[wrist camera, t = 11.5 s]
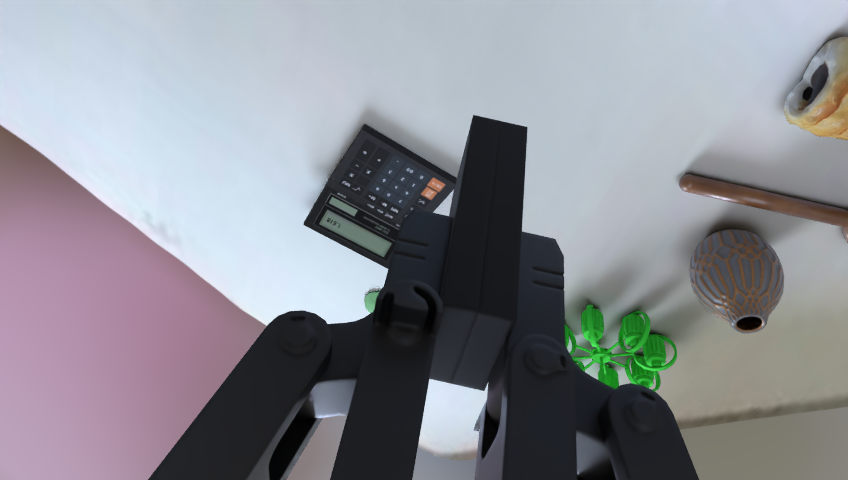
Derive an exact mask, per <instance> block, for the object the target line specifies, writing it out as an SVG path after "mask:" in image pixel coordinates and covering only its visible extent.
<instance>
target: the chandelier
mask: <svg viewBox="0 0 848 480" xmlns="http://www.w3.org/2000/svg"><path fill="white" fill-rule="evenodd" d="M640 314H642V315H643V316H644V319H645V325H644V320H643V318H642V317H641V316H639V315H640ZM631 324H632V325H631ZM581 325H582V332H583V335H584V338H585V339H587V340H589V342H591V345H592V347H597V348H596V349H593V350H592V351H590V350H588V349H585V348H583V347H581V346H578V345H576V339H575V337H574V335H573V333H572V331H571V330H570V329H569V328H568V327H567V325H566V324H565V342H566V348H567V346H568V343H569V337H570V339H571V341H572V351H571V353H569V354H570V355H571V354H573V353H574V352H575V350H576V347H577V348H579V349H582V350H584V351H586V352H589V353H590V356H583V357H572V359H573V361H574V362H575V364H576V363H578V364H579V365H578V364H576V365H577V366H578V367H580V368H581V369H582V370H583V371H584V372H585V369H587V368H588V367H589V366H591V365H592V364H593V363H595V362H596V363H600V371H599V373H598V380H599V381H601V382H602V383H604V384H606V385H608V386H610V387H612V388H614V389H616V388H618V387H619V381H618V373H617V372H616V371H615V370H614V369H612V368H610V367H609V365H604V363H607V362H609V361H610V362H613V363H615V364H618V365H620V366H622V367H625V371H626V374H627V376H628V378H629V380H630V381H631V383H632V384H637V385H643V386H645V387H647V388H649V387H651V386H652V385H653V379H654V376H655V379H656V387H655V389H654V390H652V391H654V392H655V391H656V390H658V389H659V387H660V376H659V374H658V372H657V371H662V370H665V369H667V368H669V367H670V366H672V365H673V364H674V362H675V361H676V358H677V350H676V346H675V344H674V343H673V342H672V341H671V340H670V339H669V338H667V337H665V336H662V335H657V334H651V335H649V332H650V319H649V317H648V315H647V314H645V313H643V312H641V311H635V312H633V313H631V314H630V315H627V316H625V317H624V318H623V320H622V326H621V328H620V331H619V338H618V339H619V342H617V343H616V344H615V345H613V346H612V347H611V348H609V349H606V348H600V346H599V341H598V340H600V339H601V338H602V337H603V332H604V322H603V315H602V313H601V312H600V311H599V310H597V309H594V308H593V305H587V306H586V310H585V311H583V313H582V314H581ZM623 338H624V339H625V343H626V344H627V345H628V346H631V349H626V348H625V346H624V341H623ZM664 340H665V341H667V342H668V343H670V344H671V345H672V347H673V348H674V351H675V354H674V357H673V359H672V360H671V361H670V362H669V363H668V364H666V365H664V364H665V362H666V361H665V359H666V352H665V346H664ZM618 345H620V347H621V348H622V349H623V350H624V351H627V352H630V353H623V354H612V353H611V350H612V349H614V348H615V347H616V346H618ZM642 346H643V353H644V357H642V356H639V355H635V351H637V350H639V349H640V348H641V347H642ZM632 352H633V353H632ZM628 355H633V356H631V357H630V358H628V359H627V360H626V363H625V365H623V364H621V363H619V362H616V361H614V360H612V359H610V357H615V356H628ZM588 358H592V360H593V361H592V362H591V363H590V364H588V365H587V366H586V367H584V365H583V363H582V362H580V361H578V360H574V359H588ZM631 359H634V360H633V361H632V363H631V369H632V374H631V372H630V368H629V362H630V360H631ZM663 365H664V366H663ZM653 374H654V375H653Z"/></svg>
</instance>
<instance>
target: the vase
mask: <svg viewBox="0 0 848 480" xmlns="http://www.w3.org/2000/svg"><path fill="white" fill-rule="evenodd" d="M689 271H690V280H691V285H692V288H693V291H694V293H695V295H696V297H697V298H698V300H699V301H700V303H701V304H702V305H703V306H704V307H705V308H706V309H707V310H708V311H709V312H710V313H711V314H713V315H715V316H716V317H718V318H720V319H722V320H723V321H725V322H727V323H729V324H730V325H731V326H732V327H733V328H734V329H735V330H736V331H738V332H741V333H753V332H757V331H759V330H761V329H763V328H764V327H765V326H766V324H767V320H768V317H769V315H770V314H771V312H772V311H773V310H774V308H775V307H776V306H777V304H778V303H779V301H780V299H781V296H782V293H783V288H784V274H783V269H782V265H781V263H780V260H779V258H778V256H777V254H776V252H775V251H774V250H773V248H772V247H771V246H770V245H769V244H768V243H767V242H766V241H765V240H764V239H762V238H761V237H759V236H758V235H756V234H754V233H751V232H748V231H745V230H738V229H727V230H722V231H718V232H715V233H713V234H711V235H710V236H708V237H706V238H705V239H704V240H703V241H701V243H700V244H699V245H698V246H697V247H696V249H695V250H694V253H693V255H692V258H691V262H690V270H689Z"/></svg>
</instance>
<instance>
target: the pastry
mask: <svg viewBox="0 0 848 480" xmlns="http://www.w3.org/2000/svg"><path fill="white" fill-rule="evenodd" d="M784 112H785V116H786V119H787V121H788V122H789V123H790V124H795V125H797V126H799V127H800V128H801V129H804V130H807V131H809V132H811V133H813V134H815V135H817V136H823V137H834V138H837V139H843V140H848V37H839V38H836V39H833V40H830V41H828V42H827V43H826V44H825V45H824V46H823V47H822V48H821V49H820V50H819V51H818V53H817V54H816V55H815V56H814V58H813V59H812V60H811V62H810V64H809V66H808V68H807V70H806V71H805V74H804V76H803V79H802V81H801V82H800V83H798V84H797V85H796V86H795V87H794V88H793V90H792V91H791V92H790V94H789V95H788V97H787V98H786V100H785V106H784Z"/></svg>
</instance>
